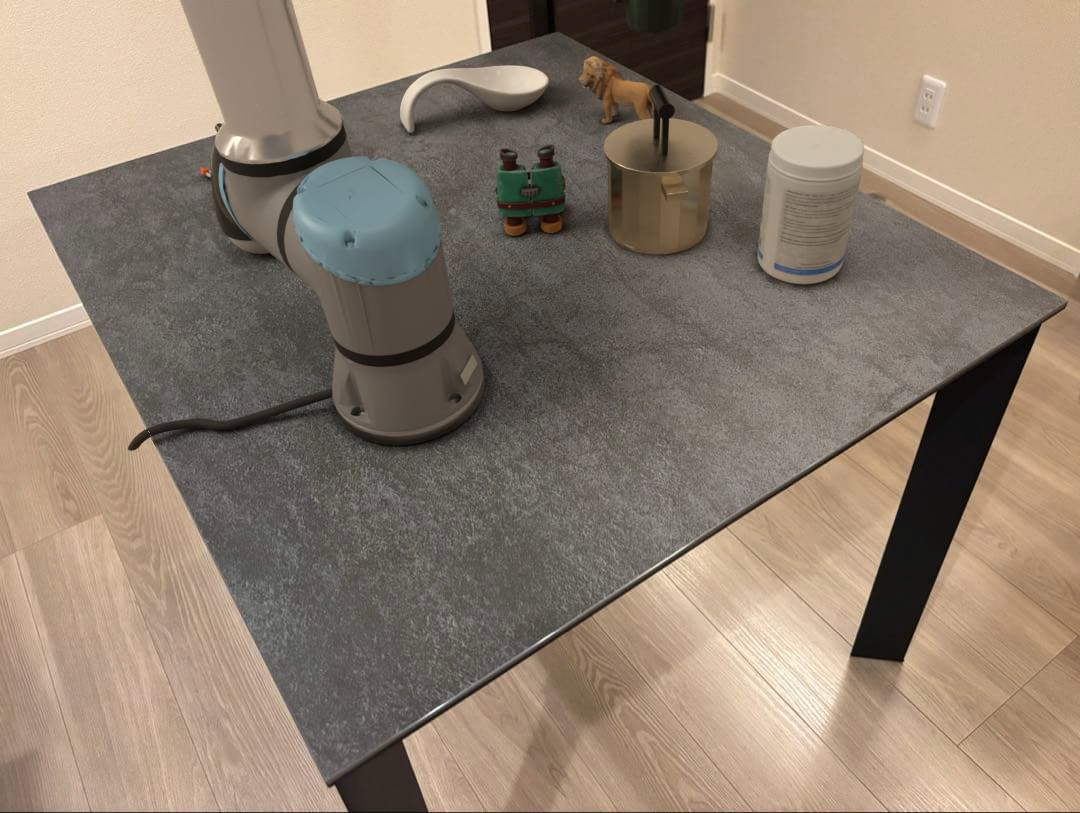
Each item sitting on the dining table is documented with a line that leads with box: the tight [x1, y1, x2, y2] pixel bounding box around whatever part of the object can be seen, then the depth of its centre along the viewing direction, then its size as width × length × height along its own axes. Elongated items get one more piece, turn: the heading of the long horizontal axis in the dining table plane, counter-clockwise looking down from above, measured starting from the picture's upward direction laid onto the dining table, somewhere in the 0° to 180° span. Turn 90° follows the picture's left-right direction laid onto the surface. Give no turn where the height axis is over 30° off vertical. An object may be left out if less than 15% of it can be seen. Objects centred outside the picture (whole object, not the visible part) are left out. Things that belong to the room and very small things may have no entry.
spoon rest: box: [399, 64, 550, 134], centre depth 126 cm, size 24×12×7 cm, turn 114°
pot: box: [606, 159, 714, 256], centre depth 99 cm, size 12×17×10 cm
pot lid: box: [603, 84, 719, 177], centre depth 93 cm, size 13×13×7 cm
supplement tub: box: [757, 124, 865, 285], centre depth 90 cm, size 10×10×15 cm
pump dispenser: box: [210, 122, 271, 255], centre depth 101 cm, size 10×10×15 cm
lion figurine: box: [578, 55, 654, 124], centre depth 119 cm, size 15×5×9 cm, turn 55°
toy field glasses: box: [494, 144, 566, 237], centre depth 103 cm, size 9×11×10 cm
